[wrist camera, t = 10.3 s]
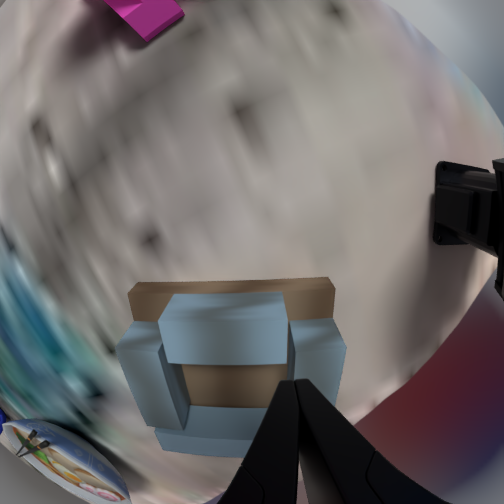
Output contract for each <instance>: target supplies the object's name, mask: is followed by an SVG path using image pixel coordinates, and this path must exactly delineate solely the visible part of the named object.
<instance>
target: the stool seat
mask: <svg viewBox="0 0 504 504" xmlns="http://www.w3.org/2000/svg"><path fill="white" fill-rule="evenodd" d="M128 298H129V302H130V306H131V311H132V315H133V319H134V322H133V323H132V324H131V326H130V327H129V329H128V330H127V331H126V333H125V334H124V336H123V337H122V339H121V340H120V341H119V343H118V344H117V346H116V347H115V350H116V353H117V356H118V359H119V362H120V364H121V367H122V370H123V372H124V375H125V377H126V380H127V382H128V385H129V387H130V389H131V392H132V394H133V396H134V399H135V401H136V403H137V405H138V408H139V410H140V412H141V414H142V416H143V418H144V420H145V422H146V424H147V426H151V427H158V428H165V429H173V430H182V431H183V429H184V425H185V421H186V417H187V413H188V409H189V405H193V406H206V407H224V408H268V406H269V404H270V402H271V399H272V397H273V395H274V392H275V390H276V388H277V385H278V383H279V381H280V380H289V379H292V380H293V381H294V380H295V379H302V378H307V379H309V380H310V381H311V382H312V383H313V384H314V385H315V386H316V387H317V389H318V390H319V391H320V392H321V393H322V394H323V395H324V396H325V397H326V398H327V399H328V400H329V401H330V402H331V403H332V405H333V406H334V407H335V403H336V398H337V394H338V389H339V385H340V380H341V375H342V370H343V365H344V360H345V354H346V349H347V347H346V345H345V343H344V341H343V339H342V336H341V334H340V332H339V330H338V328H337V326H336V324H335V322H334V319H333V310H334V299H335V287H334V286H333V284H332V282H331V281H330V279H329V278H328V277H319V278H298V279H274V280H246V281H208V282H138V283H137V284H136V285H135V286H134V287H133V288H132V289H131V290H130V291H129V292H128Z"/></svg>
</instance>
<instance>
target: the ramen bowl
mask: <svg viewBox="0 0 504 504" xmlns="http://www.w3.org/2000/svg"><path fill="white" fill-rule="evenodd" d="M2 426H3V431H4V433H5V435H6V436H7V438H8V439H9V441H10V442H11V444H12V445H13V446H14V447H15V448H16V449H17V451H18V453H20V454H21V455H20V456H19V457H21V456H23V457H24V458H25V459H26V460H27V461H28V462H30V463H31V464H32V465H33V466H34V467H35V468H37V469H38V470H39V471H40V472H42V473H43V474H44V475H45V476H47V477H48V478H50V479H51V480H53V481H54V482H56V483H57V484H59V485H61V486H62V487H64V488H65V489H67V490H69V491H71V492H73V493H75V494H77V495H79V496H81V497H83V498H85V499H87V500H89V501H92V502H94V503H97V504H132V503H131V499H130V495H129V492H128V489H127V487H126V484H125V482H124V480H123V478H122V476H121V474H120V473H119V472H118V471H117V470H116V468H115V467H114V466H113V465H112V464H111V463H110V462H109V461H108V460H107V459H106V458H105V457H104V456H103V455H102V454H100V453H99V452H98V451H97V450H96V449H95V448H94V447H93V446H92V445H91V444H90V443H89V442H87V441H86V440H85V439H83V438H82V437H80V436H79V435H77V434H75V433H73V432H71V431H68V430H65V429H63V428H61V427H59V426H57V425H54V424H51V423H49V422H46V421H43V420H39V419H22V420H15V421H9V422H7V423H4V424H2ZM18 453H17V454H18ZM17 454H16V455H17Z"/></svg>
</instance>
